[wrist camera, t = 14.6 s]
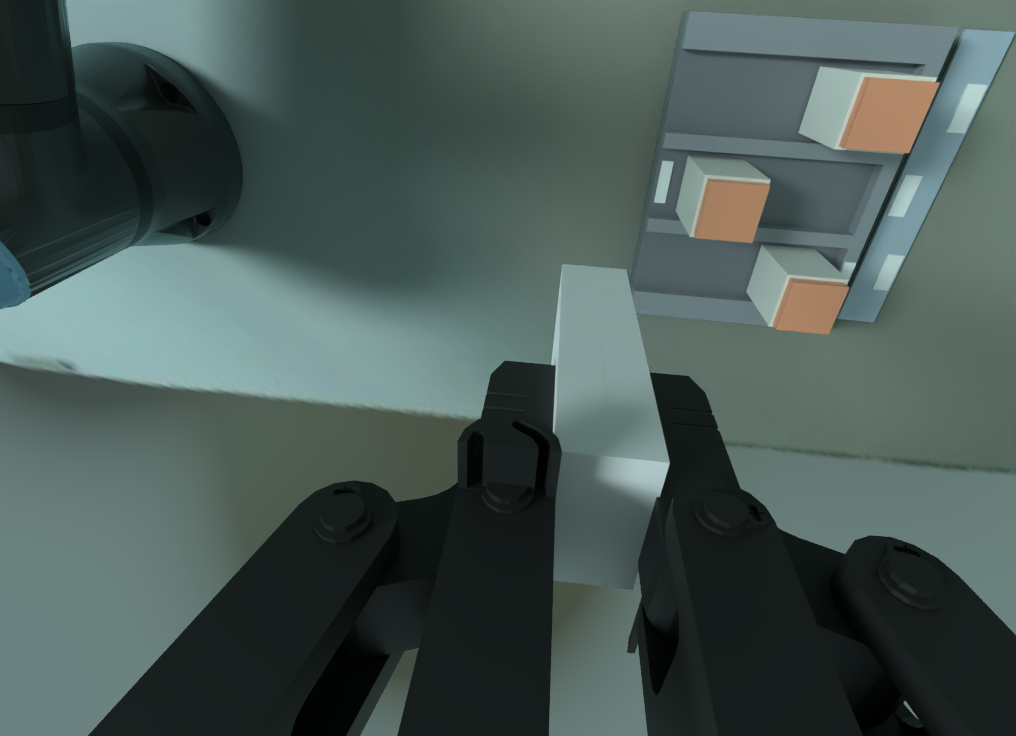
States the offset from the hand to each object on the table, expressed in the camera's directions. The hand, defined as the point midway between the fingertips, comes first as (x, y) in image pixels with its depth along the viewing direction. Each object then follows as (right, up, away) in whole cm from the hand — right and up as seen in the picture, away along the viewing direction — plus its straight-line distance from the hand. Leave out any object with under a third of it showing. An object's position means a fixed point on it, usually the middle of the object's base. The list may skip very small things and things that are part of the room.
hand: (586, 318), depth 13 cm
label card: (+29, +12, +27) cm, 41 cm away
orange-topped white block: (+13, +12, +26) cm, 32 cm away
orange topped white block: (+20, +7, +29) cm, 35 cm away
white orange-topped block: (+20, +17, +22) cm, 34 cm away
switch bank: (+17, +13, +27) cm, 35 cm away
